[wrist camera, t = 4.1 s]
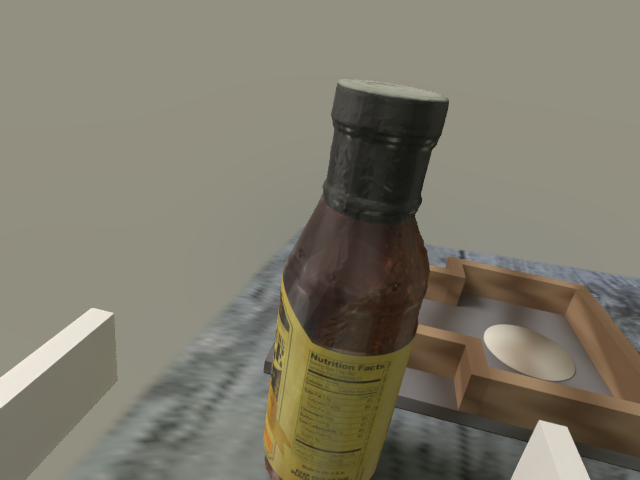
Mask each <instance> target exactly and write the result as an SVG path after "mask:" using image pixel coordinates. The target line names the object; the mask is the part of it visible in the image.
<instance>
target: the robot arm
mask: <svg viewBox="0 0 640 480" xmlns="http://www.w3.org/2000/svg"><path fill="white" fill-rule="evenodd" d="M116 381H117V361H116V342H115V323H114V313H110V312H107V311H103V310H99V309H94V308H91V309H90V310H89V311H87V312H86V313H85V314H83V315H82V316H81V317H79V318H78V319H77V320H75V321H74V322H73V323H72V324H70V325H69V326H68V327H66V328H65V329H64V330H62V331H61V332H60V333H58V334H57V335H56V336H55V337H53V338H52V339H51V340H49V341H48V342H47V343H45V344H44V345H43V346H41V347H40V348H39V349H38V350H36V351H35V352H34V353H32V354H31V355H30V356H28V357H27V358H26V359H24V360H23V361H22V362H20V363H19V364H18V365H16V366H15V367H14V368H13V369H11V370H10V371H9V372H7V373H6V374H5V375H3V376H2V377H1V378H0V480H26V479H27V477H28V476H29V475H30V474H31V473H32V472H33V471H34V470H35V469H36V468H37V467H38V466H39V465H40V463H41V462H42V461H43V460H44V459H45V458H46V457H47V456H48V455H49V454H50V453H51V452H52V450H53V449H54V448H55V447H56V446H57V445H58V444H59V443H60V442H61V441H62V440H63V439H64V438H65V436H66V435H67V434H68V433H69V432H70V431H71V430H72V429H73V428H74V427H75V426H76V425H77V423H78V422H79V421H80V420H81V419H82V418H83V417H84V416H85V415H86V414H87V413H88V412H89V410H90V409H91V408H92V407H93V406H94V405H95V404H96V403H97V402H98V401H99V400H100V399H101V398H102V396H104V394H105V393H106V392H107V391H108V390H109V389H110V388H111V386H112V385H114V384H115V382H116ZM511 480H590V478H589V476H588V473H587V471H586V469H585V466H584V464H583V462H582V460H581V457H580V455H579V453H578V451H577V448H576V446H575V444H574V441H573V439H572V437H571V435H570V432H569V430H568V428H567V427H565V426H561V425H557V424H554V423H550V422H546V421H542V420H539V421H538V423H537V425H536V427H535V429H534V431H533V434H532V436H531V438H530V440H529V442H528V444H527V446H526V448H525V450H524V452H523V455H522V457H521V459H520V461H519V463H518V465H517V467H516V469H515V471H514V473H513V476H512V478H511Z"/></svg>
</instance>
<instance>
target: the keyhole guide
mask: <svg viewBox="0 0 640 480" xmlns="http://www.w3.org/2000/svg"><path fill="white" fill-rule="evenodd" d="M429 267H430V274H429V278H428V288H427V290H426V291H427V292H426V295H425V296H424V298H423V301H422V304H421V309H420V310H419V315H418V329H417V332H416V336H415V339H414V343H413V346H412V350H411V353H410V356H409V360H408V363H407V366H406V370H405V373H404V377H403V380H402V383H401V387H400V391H399V394H398V398H397V401H396V404H395V407H398V408H402V409H406V410H409V411H413V412H417V413H421V414H425V415H428V416H432V417H436V418H440V419H444V420H447V421H451V422H455V423H459V424H463V425H466V426H470V427H474V428H478V429H482V430H485V431H489V432H493V433H497V434H501V435H504V436H508V437H512V438H516V439H520V440H523V441H527V442H529V440H530V438H531V436H532V434H533V431H534V429H535V427H536V425H537V423H538V421H539V420H542V421H546V422H550V423H554V424H557V425H561V426H565V427H567V428H568V430H569V432H570V435H571V437H572V439H573V441H574V444H575V446H576V448H577V451H578V453H579V455H580V456H584V457H588V458H592V459H596V460H599V461H603V462H607V463H611V464H615V465H618V466H622V467H626V468H630V469H634V470H637V471H640V355H639V353H638V352H637V351H636V350H635V348H634V347H633V346H632V345H631V343H630V342H629V341H628V340H627V338H626V337H625V336H624V334H623V333H622V332H621V331H620V329H619V328H618V327H617V326H616V324H615V323H614V322H613V321H612V319H611V318H610V317H609V315H608V314H607V313H606V312H605V310H604V309H603V308H602V307H601V305H600V304H599V303H598V302H597V300H596V299H595V298H594V296H593V295H592V294H591V293H590V291H589V290H588V289H587V288H586V286H583V285H579V284H574V283H569V282H565V281H560V280H556V279H551V278H546V277H542V276H537V275H532V274H528V273H523V272H519V271H514V270H509V269H505V268H500V267H495V266H491V265H486V264H482V263H477V262H472V261H468V260H463V259H458V258H454V257H448V261H447V264H446V267H445V268H442V267H437V266H433V265H429ZM274 343H275V342H274ZM273 355H274V344H273V346H272V348H271V350H270V352H269V354H268V356H267V358H266V360H265V365H264V372H265V373H269V374H271V370H272V361H273Z"/></svg>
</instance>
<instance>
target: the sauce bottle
mask: <svg viewBox="0 0 640 480" xmlns="http://www.w3.org/2000/svg"><path fill="white" fill-rule="evenodd" d="M448 105H449V100H448V98H447V97H445V96H444V95H441V94H438V93H434V92H430V91H426V90H421V89H418V88H412V87H406V86H402V85H396V84H388V83H384V82H377V81H366V80H355V79H342V80H340V81H339V82H338V84H337V87H336V92H335V97H334V103H333V108H332V112H331V116H332V120H333V126H334V136H333V142H332V146H331V153H330V162H329V167H328V174H327V179H326V180H325V181H324V184H323V194H322V196H321V198H320V200H319V202H318V205H317V207H316V208H315V210H314V212H313V214H312V216H311V217H310V219H309V221H308V223H307V225H306V226H305V228H304V230H303V232H302V234H301V235H300V237H299V239H298V241H297V243H296V244H295V246H294V248H293V250H292V252H291V253H290V255H289V257H288V259H287V261H286V263H285V265H284V269H283V276H282V283H281V289H280V302H279V311H278V319H277V327H276V334H275V343H274V355H273V361H272V370H271V379H270V387H269V395H268V404H267V413H266V422H265V430H264V448H265V452H266V455H265V465H266V469H267V470H268V472H269V474H270V477H271V479H272V480H371V479H372V477H373V474H374V472H375V470H376V467H377V463H378V460H379V458H380V455H381V452H382V448H383V445H384V442H385V438H386V435H387V432H388V428H389V425H390V422H391V418H392V415H393V411H394V408H395V404H396V401H397V398H398V394H399V391H400V387H401V383H402V380H403V377H404V373H405V370H406V366H407V363H408V360H409V356H410V353H411V350H412V346H413V343H414V339H415V336H416V332H417V329H418V315H419V310H420V309H421V304H422V301H423V298H424V296H425V295H426V292H427V291H426V290H427V288H428V278H429V274H430V267H429V262H428V256H427V250H426V248H425V247H424V241H423V239H422V236H421V235H420V232H419V230H418V225H417V222H416V218H415V214H416V212H417V211H418V208H419V206H420V205H421V203H422V197H421V191H422V187H423V183H424V179H425V175H426V171H427V167H428V163H429V160H430V156H431V151H432V149H433V148H434V147H435V146H436V145H437V142H438V139H439V138H440V136H441V133H442V129H443V126H444V123H445V118H446V115H447V111H448Z"/></svg>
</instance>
